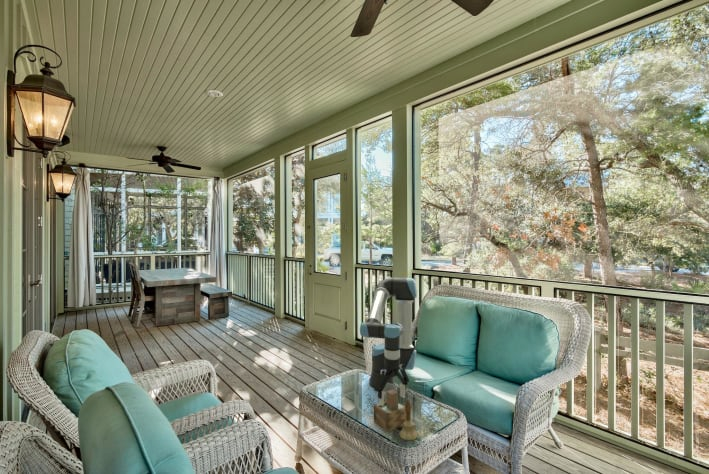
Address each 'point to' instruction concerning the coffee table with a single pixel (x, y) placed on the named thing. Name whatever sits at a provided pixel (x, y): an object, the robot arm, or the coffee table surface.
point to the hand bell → (408, 425)
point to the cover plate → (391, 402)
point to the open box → (389, 417)
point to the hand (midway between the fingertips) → (392, 400)
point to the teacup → (388, 389)
